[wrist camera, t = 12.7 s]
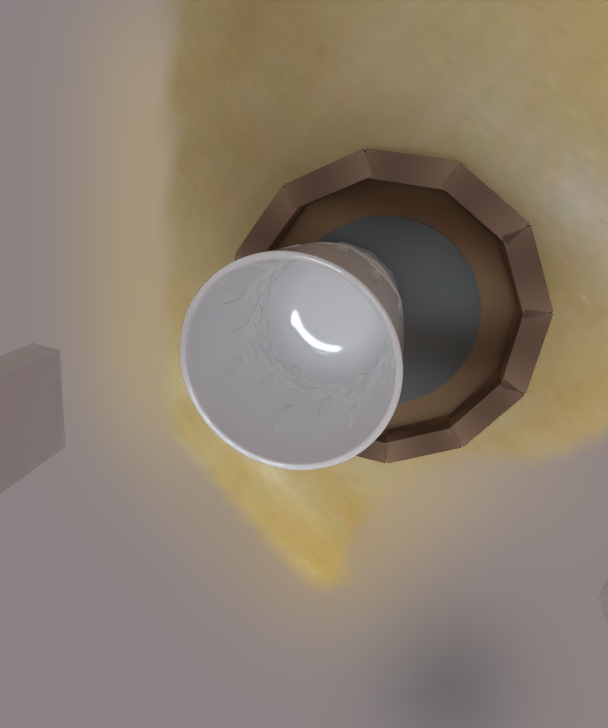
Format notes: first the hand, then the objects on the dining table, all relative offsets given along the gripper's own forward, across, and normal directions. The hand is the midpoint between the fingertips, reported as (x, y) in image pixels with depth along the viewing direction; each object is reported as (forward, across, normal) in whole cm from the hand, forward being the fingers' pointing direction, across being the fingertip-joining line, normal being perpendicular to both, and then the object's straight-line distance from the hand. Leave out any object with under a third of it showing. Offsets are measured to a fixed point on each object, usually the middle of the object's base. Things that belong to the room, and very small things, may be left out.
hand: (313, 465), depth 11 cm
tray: (+17, 0, 0) cm, 17 cm away
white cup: (+16, -2, 0) cm, 16 cm away
